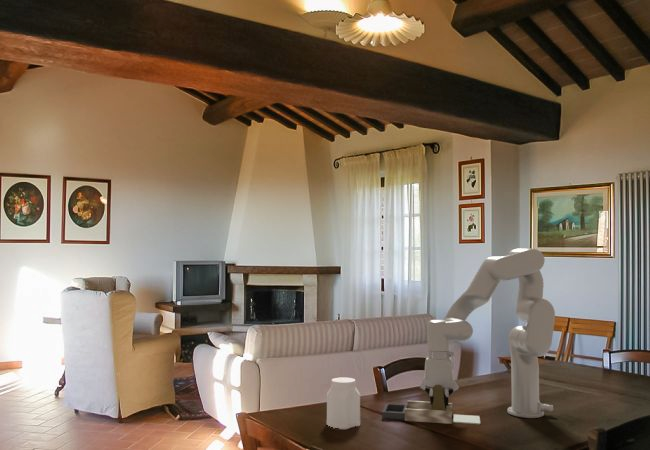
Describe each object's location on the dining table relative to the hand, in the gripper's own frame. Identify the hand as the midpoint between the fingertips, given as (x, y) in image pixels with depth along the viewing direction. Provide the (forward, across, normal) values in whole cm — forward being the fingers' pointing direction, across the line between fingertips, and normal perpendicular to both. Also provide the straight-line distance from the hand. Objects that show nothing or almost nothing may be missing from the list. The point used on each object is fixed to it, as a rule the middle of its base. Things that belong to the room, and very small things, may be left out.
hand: (439, 406), depth 207 cm
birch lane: (+4, +4, 0) cm, 5 cm away
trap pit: (+4, +16, 0) cm, 16 cm away
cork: (+2, 0, 0) cm, 2 cm away
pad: (+4, -9, 0) cm, 10 cm away
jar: (+4, +32, +15) cm, 35 cm away
